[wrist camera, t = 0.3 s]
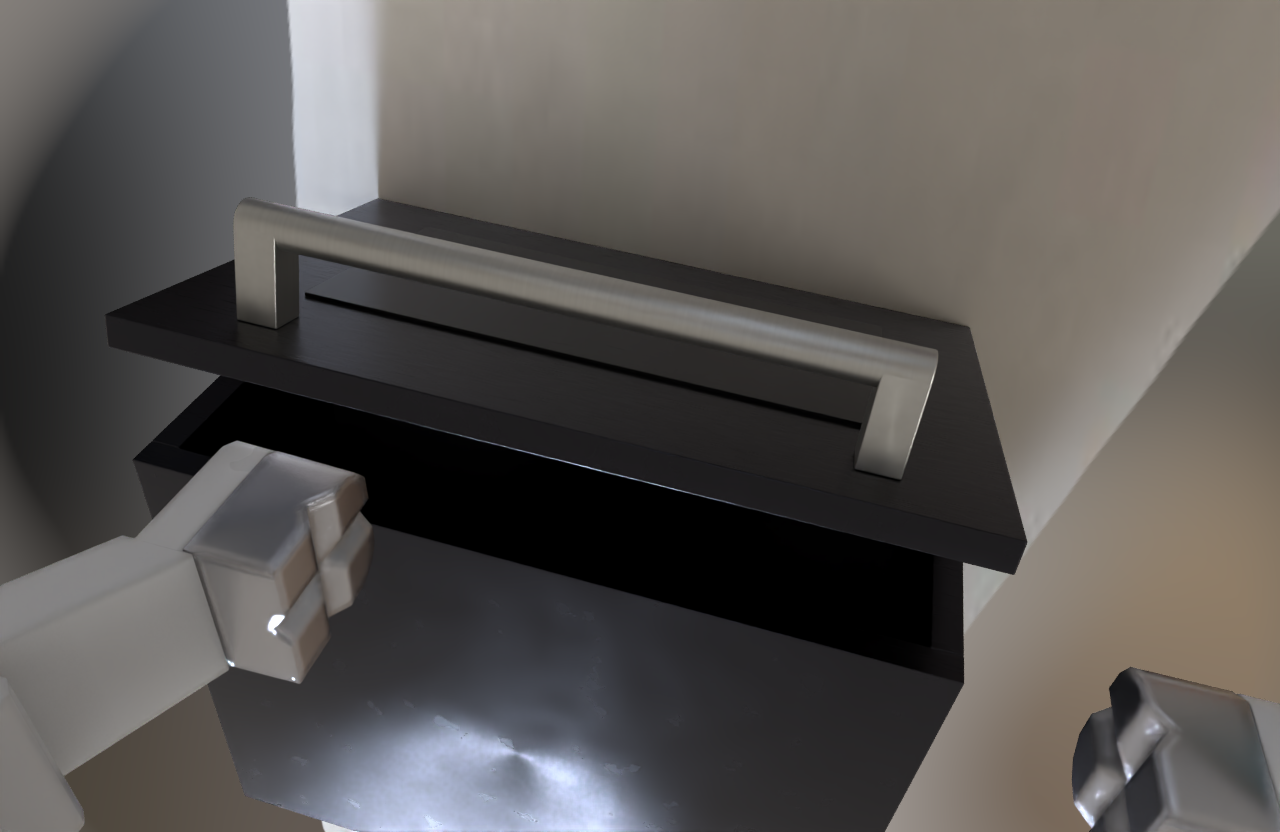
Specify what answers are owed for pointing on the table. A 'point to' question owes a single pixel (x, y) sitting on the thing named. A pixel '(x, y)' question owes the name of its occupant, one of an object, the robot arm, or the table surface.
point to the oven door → (607, 367)
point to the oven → (579, 646)
